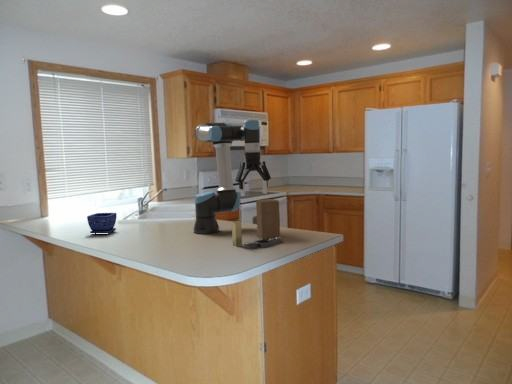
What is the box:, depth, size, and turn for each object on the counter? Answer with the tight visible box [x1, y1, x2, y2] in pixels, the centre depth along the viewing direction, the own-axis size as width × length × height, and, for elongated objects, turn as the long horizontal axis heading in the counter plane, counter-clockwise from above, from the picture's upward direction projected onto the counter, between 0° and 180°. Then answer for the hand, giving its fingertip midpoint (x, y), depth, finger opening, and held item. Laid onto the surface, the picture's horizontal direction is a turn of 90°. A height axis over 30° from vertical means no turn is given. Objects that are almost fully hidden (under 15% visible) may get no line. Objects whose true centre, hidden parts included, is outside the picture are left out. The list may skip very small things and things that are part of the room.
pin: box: [231, 220, 243, 247], centre depth 191 cm, size 3×3×12 cm
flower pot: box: [86, 212, 117, 234], centre depth 237 cm, size 13×13×12 cm
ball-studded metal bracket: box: [243, 236, 284, 250], centre depth 190 cm, size 8×21×3 cm, turn 125°
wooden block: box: [255, 198, 281, 240], centre depth 208 cm, size 10×10×20 cm
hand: (254, 194), depth 192 cm, fingers open, 13 cm apart
